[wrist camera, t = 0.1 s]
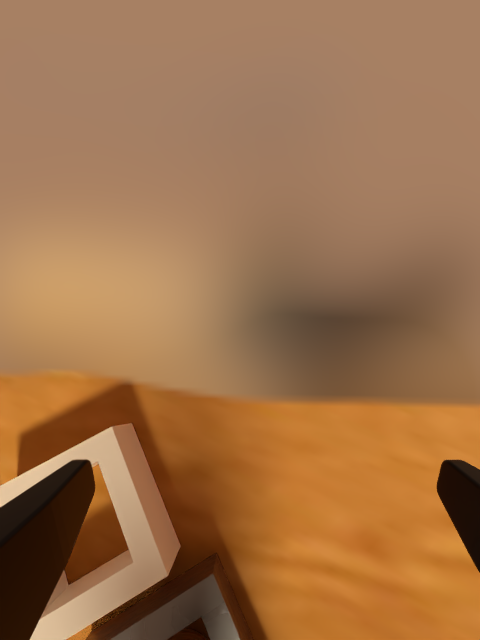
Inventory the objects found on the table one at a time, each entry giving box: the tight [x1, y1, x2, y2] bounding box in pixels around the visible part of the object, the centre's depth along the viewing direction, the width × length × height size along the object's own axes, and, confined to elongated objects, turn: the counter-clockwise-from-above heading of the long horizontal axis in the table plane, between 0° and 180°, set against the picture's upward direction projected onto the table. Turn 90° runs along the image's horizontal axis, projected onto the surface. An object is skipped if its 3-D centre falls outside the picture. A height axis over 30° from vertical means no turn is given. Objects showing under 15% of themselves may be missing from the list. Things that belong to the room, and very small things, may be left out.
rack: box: [0, 423, 181, 640], centre depth 18 cm, size 9×9×4 cm
